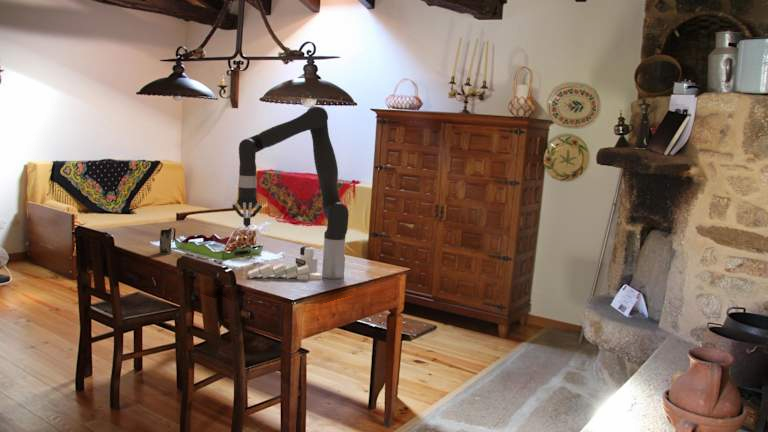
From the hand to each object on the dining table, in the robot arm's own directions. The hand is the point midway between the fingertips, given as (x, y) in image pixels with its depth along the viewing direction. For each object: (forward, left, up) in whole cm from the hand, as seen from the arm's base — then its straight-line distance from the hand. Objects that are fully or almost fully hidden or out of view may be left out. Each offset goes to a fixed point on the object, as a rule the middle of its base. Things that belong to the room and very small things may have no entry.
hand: (246, 226), depth 274 cm
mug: (+35, -44, -21) cm, 60 cm away
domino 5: (-22, +5, -20) cm, 30 cm away
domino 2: (-7, +4, -20) cm, 22 cm away
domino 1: (-1, +5, -20) cm, 21 cm away
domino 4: (-17, +5, -20) cm, 27 cm away
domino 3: (-13, +4, -20) cm, 24 cm away
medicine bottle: (-27, -4, -21) cm, 34 cm away
